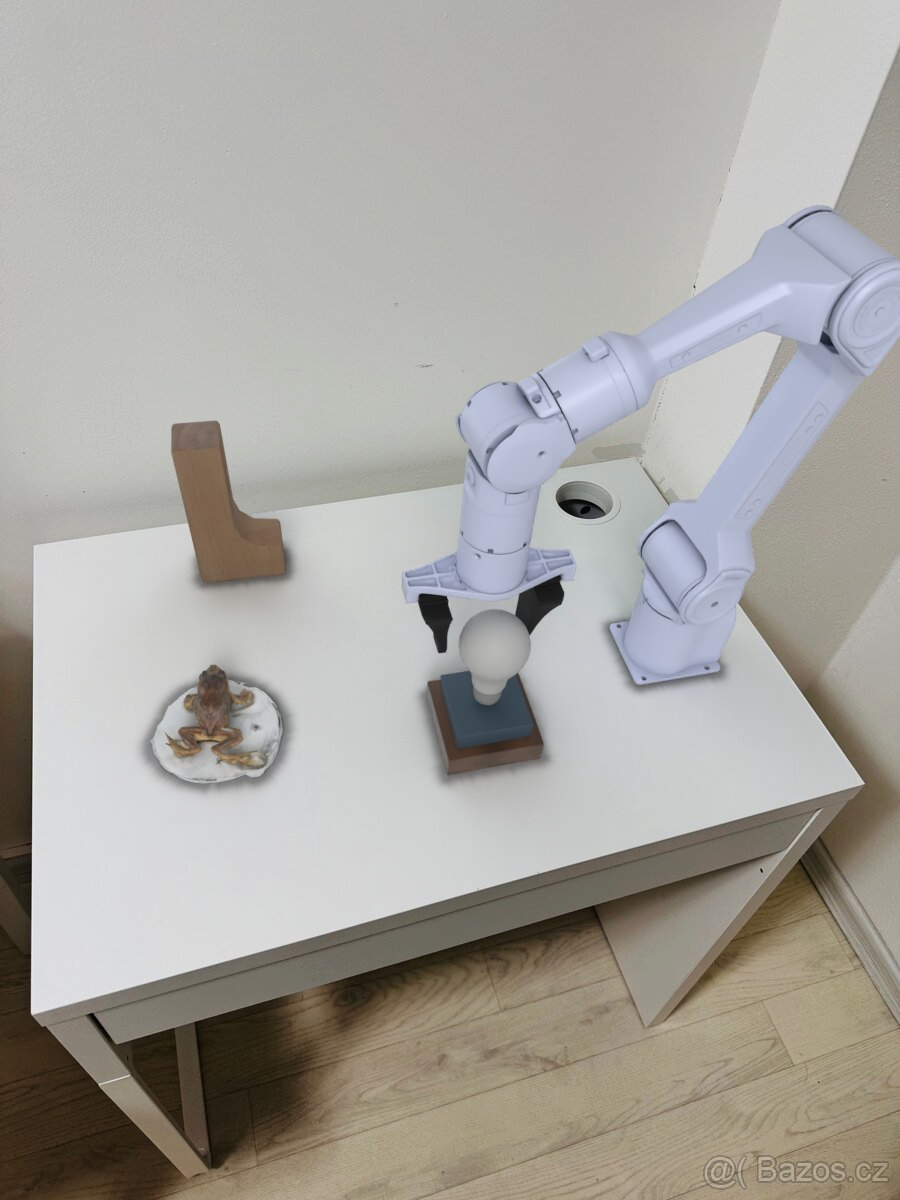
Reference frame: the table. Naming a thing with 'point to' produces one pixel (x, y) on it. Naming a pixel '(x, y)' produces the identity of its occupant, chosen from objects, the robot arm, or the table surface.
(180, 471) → the wooden block
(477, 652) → the lightbulb
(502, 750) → the base block
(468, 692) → the top block
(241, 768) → the frog figurine
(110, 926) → the table surface
